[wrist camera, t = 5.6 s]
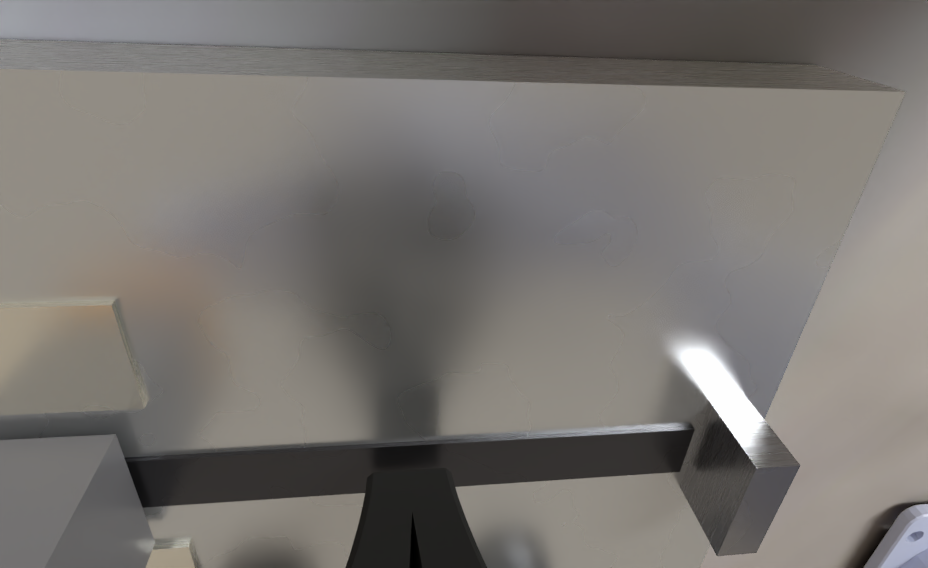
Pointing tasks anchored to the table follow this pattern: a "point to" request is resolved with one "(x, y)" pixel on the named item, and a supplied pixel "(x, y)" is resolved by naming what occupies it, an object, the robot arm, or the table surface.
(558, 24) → the table surface
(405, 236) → the console
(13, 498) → the fader tab
